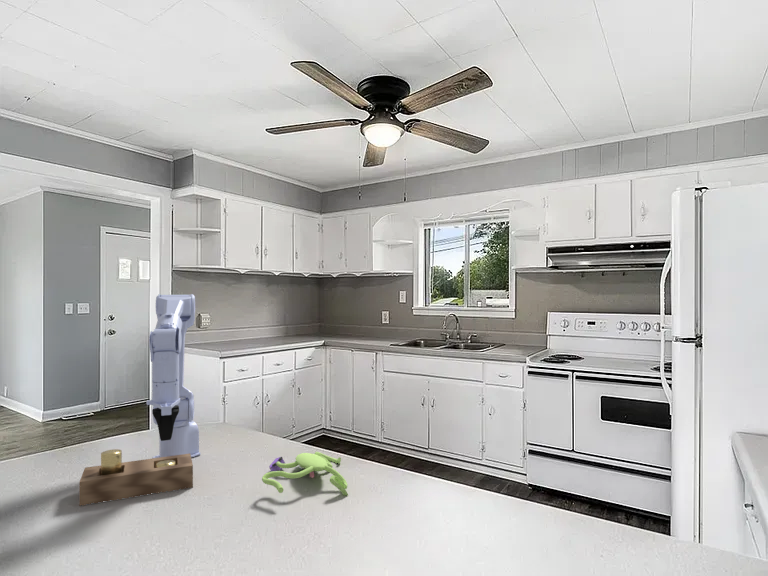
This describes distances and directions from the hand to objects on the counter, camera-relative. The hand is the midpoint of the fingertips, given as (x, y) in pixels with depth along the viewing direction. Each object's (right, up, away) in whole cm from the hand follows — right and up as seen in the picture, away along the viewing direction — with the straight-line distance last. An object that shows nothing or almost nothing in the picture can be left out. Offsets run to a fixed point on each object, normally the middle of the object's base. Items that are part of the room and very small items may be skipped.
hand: (165, 439), depth 113 cm
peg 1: (-10, -6, -5) cm, 13 cm away
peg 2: (0, -10, 0) cm, 10 cm away
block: (-5, -10, -2) cm, 12 cm away
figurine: (+32, -11, +2) cm, 34 cm away
